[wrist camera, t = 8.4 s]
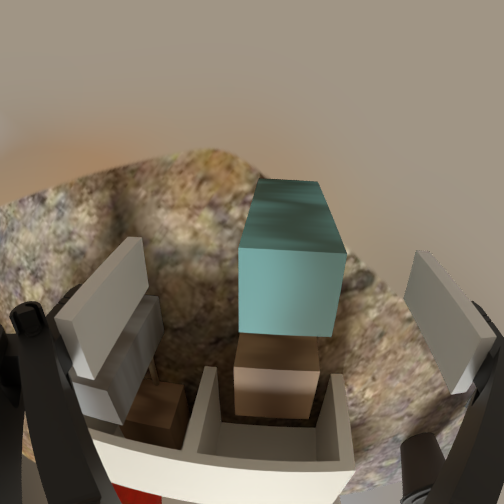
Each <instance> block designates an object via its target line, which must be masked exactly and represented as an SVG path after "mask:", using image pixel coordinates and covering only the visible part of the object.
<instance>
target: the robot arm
mask: <svg viewBox="0 0 504 504" xmlns="http://www.w3.org/2000/svg"><path fill="white" fill-rule="evenodd" d="M148 287H149V284H148V278H147V271H146V264H145V257H144V250H143V242H142V237H127V238H126V239H125V240H124V241H123V242H122V243H121V244H120V245H119V246H118V247H117V248H116V249H115V250H114V251H113V252H112V254H111V255H110V256H109V257H108V258H107V259H106V260H105V261H104V262H103V263H102V264H101V265H100V266H99V267H98V268H97V269H96V271H95V272H94V273H93V274H92V275H91V276H90V277H89V278H88V279H87V280H86V282H85V283H84V284H78V285H77V286H75V287H73V288H72V289H70V290H69V291H68V292H67V293H66V294H65V295H64V298H62V299H61V300H60V301H59V302H58V304H56V306H55V307H54V308H53V309H52V310H51V311H50V312H49V314H48V315H47V316H46V317H45V315H44V312H43V309H42V306H41V304H40V303H38V302H35V301H29V302H24V303H22V304H20V305H18V306H17V307H15V308H14V309H13V310H12V311H11V313H10V316H9V317H10V320H11V322H12V324H13V327H14V329H15V331H16V334H6V333H5V331H4V329H3V327H2V325H1V324H0V504H22V487H21V462H22V461H21V459H22V437H23V423H24V412H26V418H27V424H28V429H29V434H30V439H31V443H32V448H33V452H34V456H35V460H36V464H37V468H38V471H39V475H40V478H41V482H42V485H43V488H44V491H45V494H46V498H47V501H48V504H122V503H121V501H120V499H119V497H118V495H117V493H116V491H115V489H114V487H113V485H112V483H111V481H110V479H109V477H108V475H107V473H106V471H105V468H104V466H103V464H102V462H101V459H100V457H99V455H98V452H97V450H96V448H95V445H94V443H93V440H92V438H91V435H90V432H89V430H88V427H87V425H86V422H85V419H84V416H83V413H82V411H81V408H80V405H79V402H78V399H77V396H76V393H75V389H74V386H73V383H72V380H71V377H70V375H69V373H68V372H69V370H70V368H71V367H72V365H73V367H74V369H75V371H76V374H77V376H80V377H84V378H88V379H92V380H95V378H96V376H97V374H98V372H99V371H100V369H101V367H102V365H103V363H104V362H105V360H106V358H107V356H108V355H109V353H110V351H111V349H112V348H113V346H114V344H115V342H116V341H117V339H118V337H119V336H120V334H121V332H122V330H123V329H124V327H125V325H126V324H127V322H128V320H129V319H130V317H131V315H132V314H133V312H134V310H135V309H136V307H137V305H138V304H139V302H140V300H141V299H142V297H143V296H144V294H145V292H146V291H147V289H148ZM403 299H404V300H405V302H406V304H407V306H408V308H409V310H410V312H411V313H412V315H413V317H414V319H415V321H416V323H417V325H418V327H419V329H420V331H421V333H422V334H423V336H424V338H425V340H426V342H427V344H428V346H429V348H430V351H431V353H432V355H433V357H434V359H435V361H436V363H437V365H438V367H439V369H440V371H441V374H442V376H443V378H444V380H445V382H446V385H447V387H448V389H449V391H450V394H457V393H463V392H467V390H468V388H469V387H470V385H471V383H472V382H473V381H474V383H475V385H476V387H477V388H476V389H475V391H474V393H473V394H472V396H471V397H470V399H469V400H468V402H467V403H466V405H465V406H464V407H465V408H467V406H468V405H469V406H468V408H467V411H466V414H465V416H464V419H463V422H462V424H461V427H460V429H459V432H458V434H457V436H456V439H455V441H454V443H453V446H452V448H451V450H450V452H449V454H448V457H447V459H446V461H445V463H444V465H443V467H442V469H441V471H440V473H439V475H438V477H437V479H436V481H435V483H434V485H433V486H432V488H431V490H430V492H429V494H428V496H427V497H426V499H425V501H424V503H423V504H497V501H498V498H499V495H500V493H501V490H502V486H503V483H504V337H503V336H502V335H501V333H500V332H499V330H498V329H497V328H496V326H495V325H494V323H493V322H491V319H490V318H489V317H488V316H487V314H486V313H485V312H484V310H483V309H482V308H481V307H480V306H479V305H477V304H476V303H475V302H474V301H470V300H469V298H468V297H467V296H466V294H465V293H464V292H463V291H462V289H461V288H460V287H459V286H458V285H457V283H456V282H455V281H454V280H453V278H452V277H451V276H450V275H449V273H447V271H446V270H445V269H444V268H443V266H442V265H441V264H440V263H439V262H438V261H437V259H436V258H435V257H434V256H433V255H432V254H431V253H430V251H420V250H416V253H415V257H414V261H413V265H412V269H411V273H410V277H409V281H408V284H407V288H406V291H405V295H404V298H403Z"/></svg>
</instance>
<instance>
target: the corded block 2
mask: <svg viewBox="0 0 504 504" xmlns="http://www.w3.org/2000/svg"><path fill="white" fill-rule="evenodd" d="M346 257H347V252H346V250H345V247H344V245H343V242H342V239H341V237H340V235H339V232H338V229H337V227H336V224H335V222H334V219H333V217H332V215H331V212H330V210H329V207H328V205H327V202H326V200H325V198H324V195H323V193H322V191H321V188H320V186H319V184H318V182H314V181H299V180H281V179H260V178H259V180H258V183H257V187H256V190H255V193H254V197H253V200H252V203H251V207H250V210H249V214H248V217H247V220H246V224H245V227H244V231H243V234H242V237H241V241H240V244H239V332H240V335H239V340H238V346H237V351H236V357H235V362H234V396H235V415H241V416H253V417H268V418H288V419H309V415H310V411H311V407H312V403H313V399H314V395H315V391H316V387H317V383H318V379H319V374H320V364H319V354H318V344H317V336H318V337H332V332H333V327H334V323H335V318H336V313H337V308H338V302H339V297H340V292H341V286H342V281H343V275H344V269H345V263H346Z"/></svg>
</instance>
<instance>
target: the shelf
mask: <svg viewBox="0 0 504 504" xmlns="http://www.w3.org/2000/svg"><path fill="white" fill-rule="evenodd" d="M83 416H84V419H85V422H86V425H87V427H88V430H89V432H90V435H91V438H92V440H93V443H94V445H95V448H96V450H97V452H98V455H99V457H100V459H101V462H102V464H103V466H104V468H105V471H106V473H107V475H108V477H109V479H110V481H111V482H112V483H115V484H118V485H121V486H125V487H128V488H132V489H135V490H139V491H143V492H147V493H151V494H155V495H159V496H164V497H168V498H173V499H178V500H183V501H189V502H195V503H201V504H333V502H334V501H335V500H336V498H337V497H338V495H339V494H340V493H341V491H342V490H343V488H344V487H345V485H346V484H347V483H348V481H349V480H350V478H351V477H352V475H353V474H354V472H355V471H356V469H355V460H354V451H353V443H352V435H351V427H350V419H349V412H348V405H347V398H346V391H345V385H344V378H343V374H331V376H330V379H329V383H328V387H327V390H326V394H325V397H324V401H323V404H322V408H321V411H320V414H319V418H318V421H317V424H316V427H315V428H303V427H275V426H258V425H245V424H234V423H225V422H221V411H220V400H219V388H218V375H217V367H210V366H205V367H204V371H203V375H202V378H201V382H200V385H199V389H198V393H197V396H196V400H195V404H194V407H193V411H192V415H191V418H189V422H188V425H187V429H186V433H185V436H184V440H183V444H182V448H181V450H176V449H170V448H165V447H160V446H156V445H151V444H146V443H142V442H138V441H134V440H130V439H126V438H125V437H124V435H123V433H122V431H121V429H120V427H119V425H118V424H115V423H111V422H108V421H104V420H100V419H97V418H94V417H90V416H87V415H84V414H83Z"/></svg>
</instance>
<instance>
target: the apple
mask: <svg viewBox="0 0 504 504" xmlns="http://www.w3.org/2000/svg"><path fill="white" fill-rule="evenodd" d="M112 485H113V487H114V489H115V491H116V493H117V495H118V497H119V499H120V501H121V503H122V504H162V502H161V501H162V500H161V497H162V496H159V495H155V494H151V493H147V492H143V491H139V490H135V489H132V488H128V487H125V486H121V485H118V484H115V483H112Z"/></svg>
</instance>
